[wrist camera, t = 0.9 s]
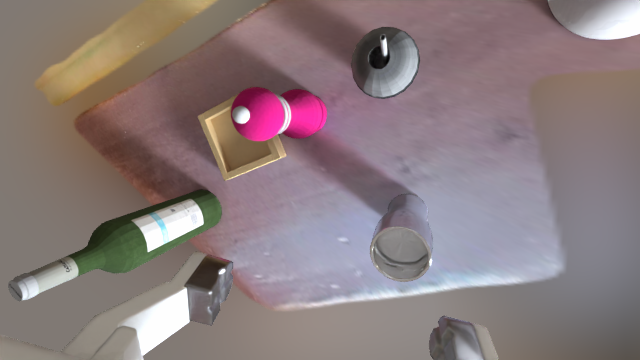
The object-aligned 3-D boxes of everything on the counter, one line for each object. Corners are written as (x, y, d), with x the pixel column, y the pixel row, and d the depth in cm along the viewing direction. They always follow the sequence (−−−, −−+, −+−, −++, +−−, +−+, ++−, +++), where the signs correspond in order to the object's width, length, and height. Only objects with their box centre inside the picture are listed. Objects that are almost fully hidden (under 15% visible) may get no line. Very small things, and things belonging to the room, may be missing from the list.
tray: (259, 87, 50) (251, 86, 48) (286, 155, 51) (280, 158, 49) (207, 116, 55) (197, 116, 52) (232, 177, 56) (224, 180, 53)
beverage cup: (359, 73, 44) (312, 44, 26) (401, 37, 41) (381, -24, 23) (388, 112, 44) (361, 112, 25) (432, 79, 41) (437, 51, 22)
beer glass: (431, 234, 45) (433, 287, 32) (385, 232, 48) (369, 280, 34) (430, 190, 44) (433, 225, 30) (383, 190, 46) (366, 223, 33)
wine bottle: (184, 204, 61) (-15, 279, 34) (204, 181, 58) (4, 243, 30) (207, 233, 61) (25, 334, 33) (229, 212, 58) (49, 303, 30)
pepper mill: (315, 145, 49) (248, 164, 30) (281, 120, 50) (197, 125, 31) (338, 106, 46) (280, 102, 28) (302, 82, 47) (223, 62, 29)
